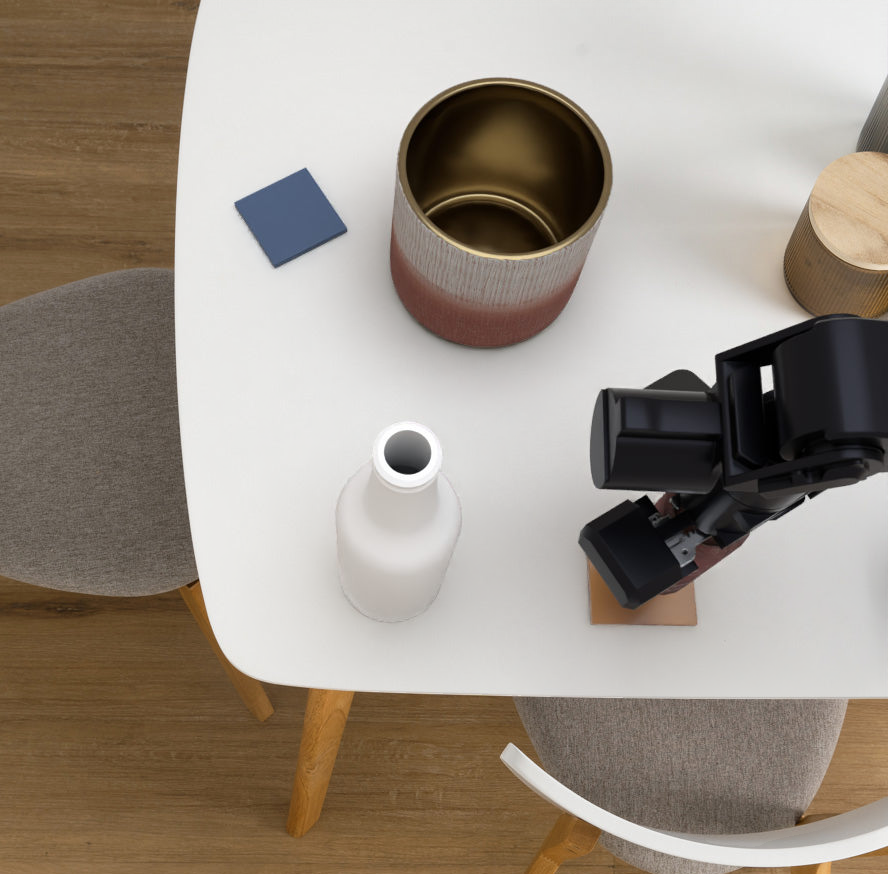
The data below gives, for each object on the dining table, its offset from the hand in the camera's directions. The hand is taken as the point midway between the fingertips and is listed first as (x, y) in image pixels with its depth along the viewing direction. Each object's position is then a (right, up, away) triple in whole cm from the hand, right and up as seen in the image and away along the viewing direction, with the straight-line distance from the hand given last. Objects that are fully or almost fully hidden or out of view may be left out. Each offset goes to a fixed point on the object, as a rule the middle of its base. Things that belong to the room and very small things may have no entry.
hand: (679, 534), depth 72 cm
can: (0, -2, +7) cm, 7 cm away
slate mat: (-31, +30, +22) cm, 48 cm away
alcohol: (-21, -4, +11) cm, 25 cm away
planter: (-13, +25, +21) cm, 35 cm away
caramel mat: (0, -5, +12) cm, 13 cm away
